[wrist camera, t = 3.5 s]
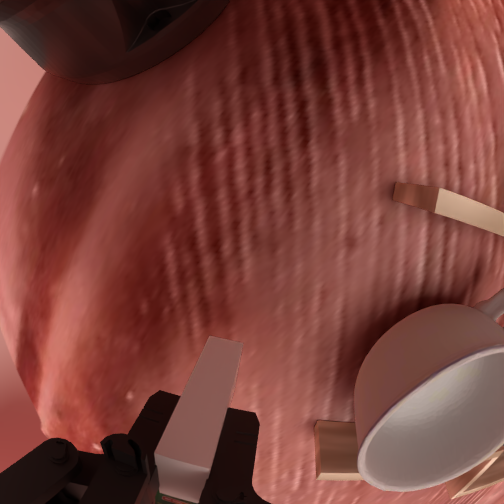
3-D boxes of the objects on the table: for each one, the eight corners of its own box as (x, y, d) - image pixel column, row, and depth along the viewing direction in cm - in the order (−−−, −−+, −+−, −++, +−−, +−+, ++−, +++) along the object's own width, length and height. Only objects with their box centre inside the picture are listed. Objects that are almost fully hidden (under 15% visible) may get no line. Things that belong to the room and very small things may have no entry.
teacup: (393, 429, 19) (415, 505, 11) (306, 366, 18) (310, 468, 10) (520, 311, 15) (579, 362, 7) (464, 208, 14) (558, 238, 6)
